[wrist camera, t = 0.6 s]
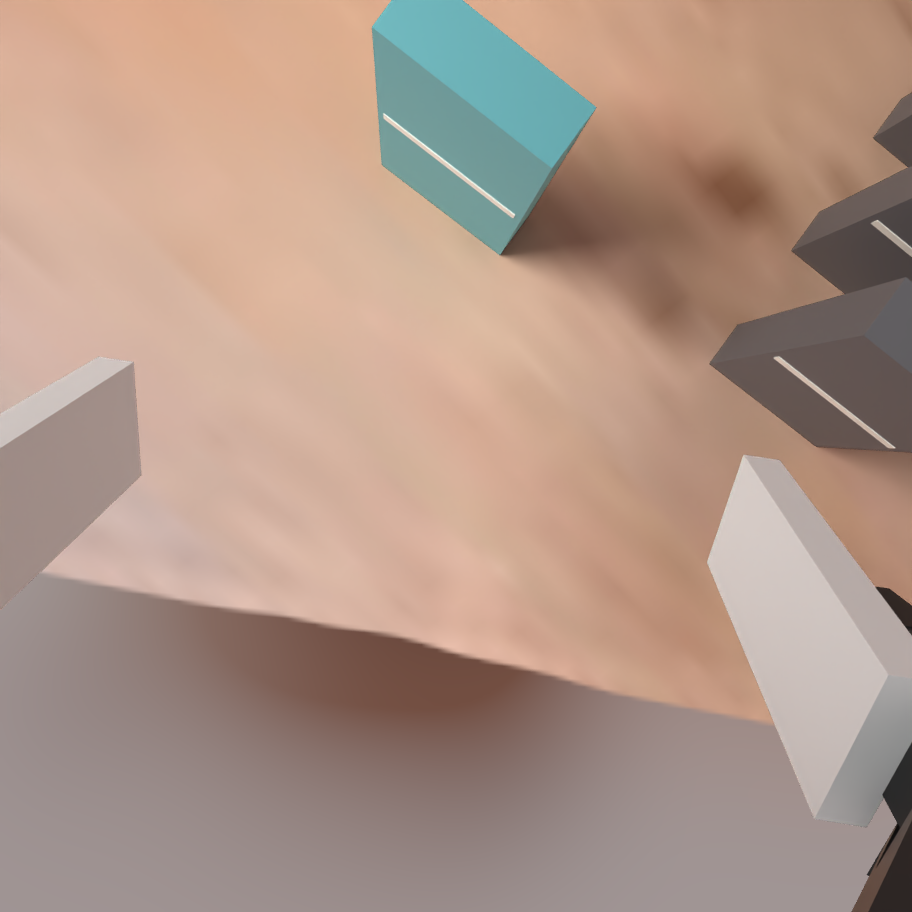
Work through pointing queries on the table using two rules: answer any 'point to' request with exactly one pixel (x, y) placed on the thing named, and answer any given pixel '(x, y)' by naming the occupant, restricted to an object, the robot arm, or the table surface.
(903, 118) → the domino
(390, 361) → the table surface
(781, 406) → the domino
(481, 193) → the teal domino
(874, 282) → the domino
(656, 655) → the table surface
